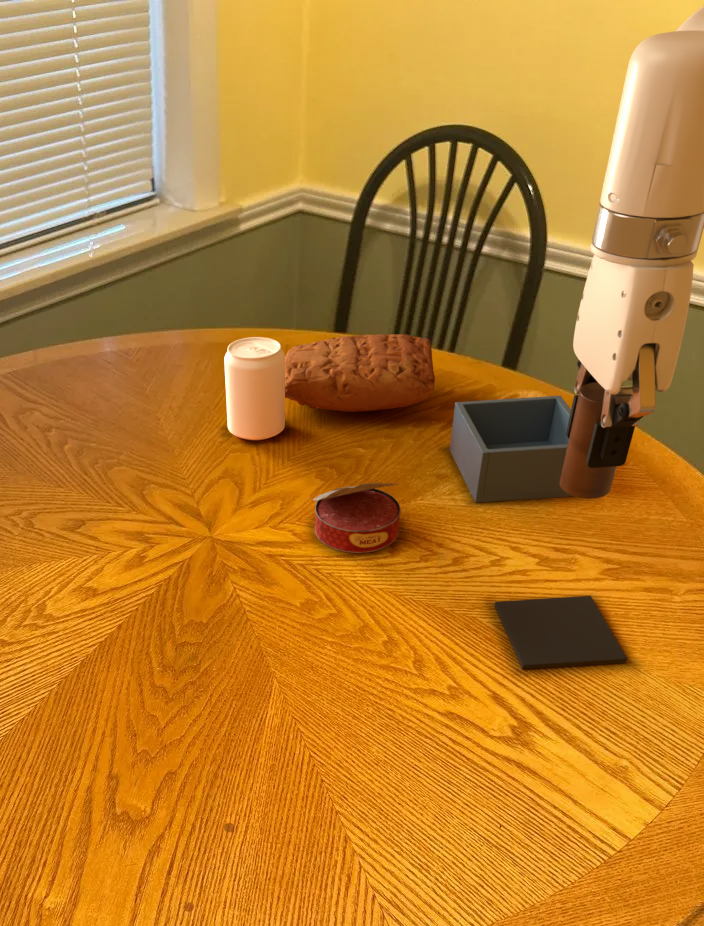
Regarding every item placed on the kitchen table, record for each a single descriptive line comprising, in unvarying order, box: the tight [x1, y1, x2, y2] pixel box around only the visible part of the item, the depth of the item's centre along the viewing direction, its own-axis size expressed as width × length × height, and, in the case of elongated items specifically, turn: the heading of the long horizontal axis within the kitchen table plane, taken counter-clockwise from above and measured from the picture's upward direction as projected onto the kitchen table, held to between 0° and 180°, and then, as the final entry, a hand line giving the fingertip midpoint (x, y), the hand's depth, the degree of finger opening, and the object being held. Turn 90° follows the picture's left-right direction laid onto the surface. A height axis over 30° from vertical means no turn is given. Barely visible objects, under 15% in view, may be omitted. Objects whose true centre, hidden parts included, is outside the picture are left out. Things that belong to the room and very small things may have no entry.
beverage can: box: [223, 336, 286, 441], centre depth 122 cm, size 8×8×12 cm
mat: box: [493, 595, 628, 670], centre depth 89 cm, size 10×10×1 cm
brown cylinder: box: [559, 382, 631, 500], centre depth 78 cm, size 4×4×9 cm
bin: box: [449, 395, 574, 504], centre depth 111 cm, size 14×14×7 cm
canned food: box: [312, 482, 402, 554], centre depth 103 cm, size 11×10×10 cm
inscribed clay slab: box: [285, 333, 436, 412], centre depth 129 cm, size 22×17×8 cm
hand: (594, 448), depth 78 cm, fingers closed on brown cylinder, 4 cm apart
